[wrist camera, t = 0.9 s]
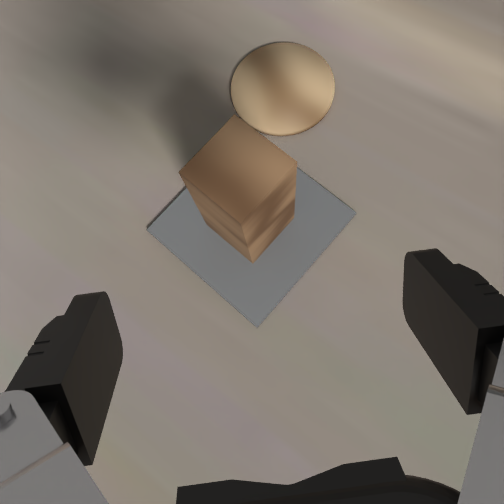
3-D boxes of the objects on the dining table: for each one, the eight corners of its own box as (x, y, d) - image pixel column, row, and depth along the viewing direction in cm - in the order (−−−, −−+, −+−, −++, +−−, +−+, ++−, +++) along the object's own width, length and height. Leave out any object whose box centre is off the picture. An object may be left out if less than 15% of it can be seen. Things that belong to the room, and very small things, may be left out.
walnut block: (247, 180, 38) (233, 113, 28) (294, 217, 36) (297, 161, 27) (206, 224, 37) (177, 171, 27) (252, 263, 36) (240, 223, 26)
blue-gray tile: (244, 129, 39) (244, 127, 39) (355, 214, 37) (356, 212, 36) (148, 231, 37) (146, 229, 37) (257, 327, 35) (256, 327, 34)
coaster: (277, 29, 42) (276, 25, 41) (355, 82, 40) (356, 79, 39) (210, 96, 40) (209, 93, 40) (288, 155, 38) (288, 153, 38)
